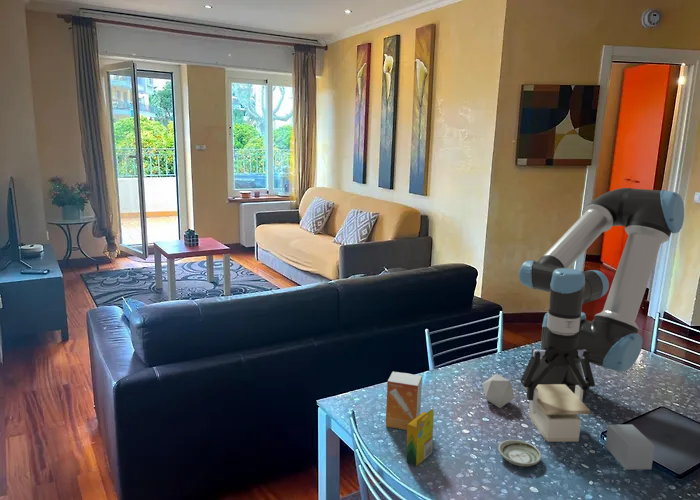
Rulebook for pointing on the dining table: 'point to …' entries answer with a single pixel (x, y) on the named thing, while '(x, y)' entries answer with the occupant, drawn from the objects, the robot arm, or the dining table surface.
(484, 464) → the dining table surface
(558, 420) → the open beige tray
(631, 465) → the grey rectangular block
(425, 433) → the crayon box
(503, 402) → the die
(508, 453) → the saucer
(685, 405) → the dining table surface
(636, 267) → the robot arm
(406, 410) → the small box
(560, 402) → the sheet
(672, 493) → the dining table surface
